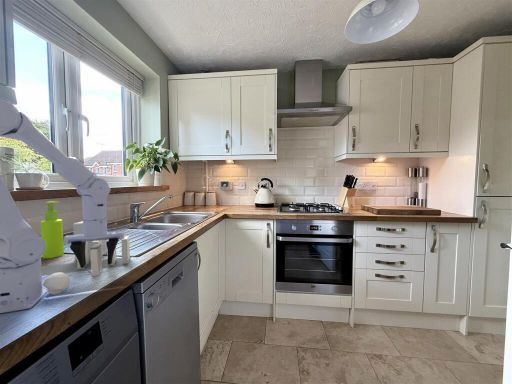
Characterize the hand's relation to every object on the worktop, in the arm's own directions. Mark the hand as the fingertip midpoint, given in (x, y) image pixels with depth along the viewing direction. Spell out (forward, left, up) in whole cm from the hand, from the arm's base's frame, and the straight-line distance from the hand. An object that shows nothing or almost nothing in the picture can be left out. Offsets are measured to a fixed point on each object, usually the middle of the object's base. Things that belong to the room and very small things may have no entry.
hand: (96, 265), depth 68 cm
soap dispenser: (+24, +19, -3) cm, 31 cm away
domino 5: (+7, -6, -2) cm, 10 cm away
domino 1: (+7, +6, -2) cm, 10 cm away
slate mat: (+7, +5, -3) cm, 9 cm away
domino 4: (+7, -2, -2) cm, 8 cm away
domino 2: (+7, +2, -2) cm, 8 cm away
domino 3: (0, 0, -3) cm, 3 cm away
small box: (+18, +6, -3) cm, 20 cm away
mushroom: (-11, +6, -3) cm, 12 cm away
